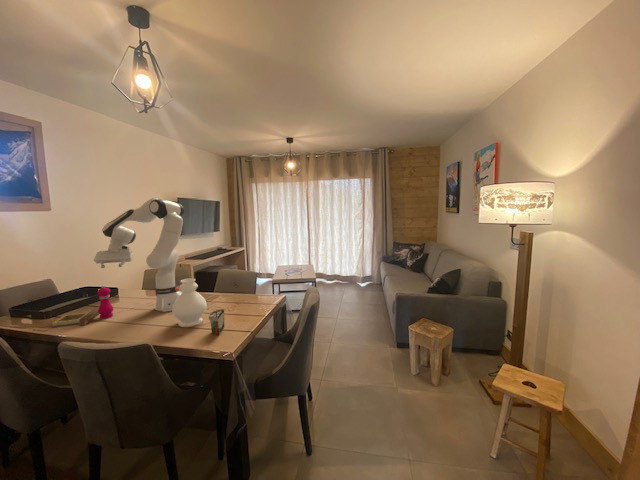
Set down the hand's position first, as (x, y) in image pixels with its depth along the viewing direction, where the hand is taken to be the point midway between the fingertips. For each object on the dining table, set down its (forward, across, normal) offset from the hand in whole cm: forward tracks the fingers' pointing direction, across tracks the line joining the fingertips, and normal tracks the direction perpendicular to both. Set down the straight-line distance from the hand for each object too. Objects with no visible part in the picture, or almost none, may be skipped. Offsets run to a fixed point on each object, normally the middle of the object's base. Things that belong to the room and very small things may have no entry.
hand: (111, 267), depth 170 cm
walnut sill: (+30, -7, +10) cm, 33 cm away
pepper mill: (+30, 0, +10) cm, 32 cm away
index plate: (+30, -16, +10) cm, 36 cm away
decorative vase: (+50, +50, -11) cm, 72 cm away
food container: (+63, +64, -24) cm, 93 cm away
